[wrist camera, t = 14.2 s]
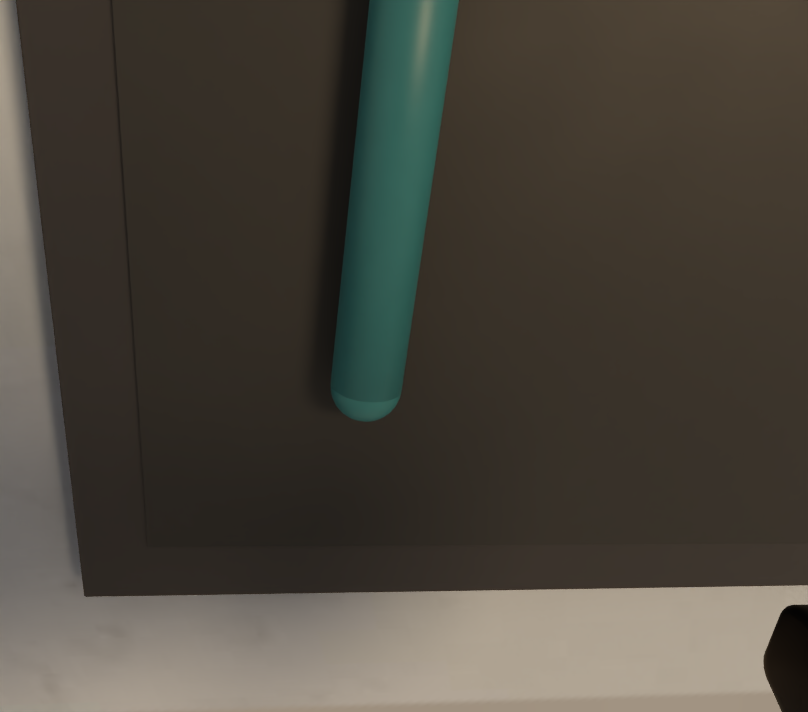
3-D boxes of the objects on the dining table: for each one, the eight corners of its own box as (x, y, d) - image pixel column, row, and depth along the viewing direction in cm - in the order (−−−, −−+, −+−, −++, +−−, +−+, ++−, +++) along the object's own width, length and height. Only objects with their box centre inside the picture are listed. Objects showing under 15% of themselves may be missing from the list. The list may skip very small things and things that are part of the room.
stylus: (411, 426, 14) (551, -476, 9) (351, 440, 13) (468, -548, 8) (372, 396, 15) (477, -427, 10) (314, 408, 14) (397, -486, 9)
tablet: (1583, -295, 13) (1681, -323, 12) (1077, 560, 21) (1113, 584, 20) (-37, -691, 9) (-80, -782, 8) (94, 570, 16) (82, 601, 15)
